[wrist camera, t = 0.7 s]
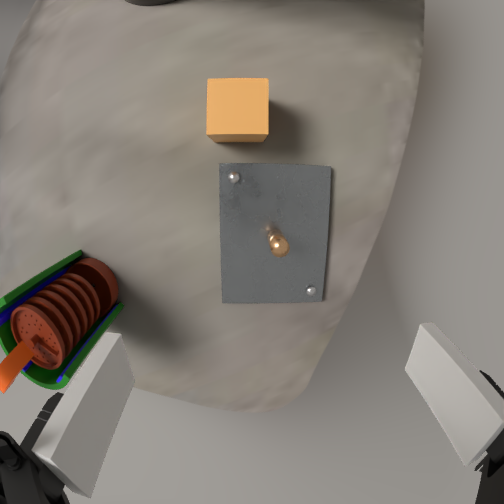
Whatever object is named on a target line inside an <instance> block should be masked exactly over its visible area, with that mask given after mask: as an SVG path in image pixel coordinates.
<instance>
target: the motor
mask: <svg viewBox="0 0 504 504" xmlns="http://www.w3.org/2000/svg"><path fill="white" fill-rule="evenodd" d="M81 255H82V252H81V250H79V251H77V252H75V253H73V254H71V255H70V256H68V257H66V258H64V259H63V260H61V261H59V262H58V263H56V264H54V265H53V266H51V267H49V268H47V269H46V270H44V271H43V272H41V273H39V274H38V275H36V276H34V277H33V278H31V279H30V280H28V281H26V282H25V283H23V284H22V285H20V286H19V287H17V288H16V289H14V290H12V291H11V292H9V293H8V294H6V295H5V296H3V297H2V298H1V299H0V344H1V346H2V348H3V350H4V352H5V353H6V355H7V357H6V358H5V359H4V360H3V361H2V363H1V364H0V390H1V391H2V393H5V391H6V390H7V389H8V388H9V387H10V385H11V384H12V383H13V382H14V379H15V378H16V376H17V375H18V374H19V373H20V372H21V373H22V374H23V375H24V376H25V377H27V378H28V379H29V380H31V381H32V382H34V383H36V384H37V385H39V386H41V387H44V388H47V389H52V390H57V389H61V388H63V387H64V386H66V385H67V383H68V382H69V380H70V379H71V378H72V376H73V375H74V373H75V372H76V370H77V369H78V367H79V366H80V365H81V363H82V362H83V361H84V359H85V358H86V356H87V355H88V354H89V352H90V351H91V349H92V348H93V347H94V345H95V344H96V343H97V341H98V340H99V339H100V337H101V336H102V335H103V333H104V332H105V331H106V329H107V328H108V327H109V325H110V324H111V323H112V322H113V320H114V319H115V318H116V316H117V315H118V314H119V313H120V311H121V310H122V309H123V307H124V305H123V304H122V303H121V302H120V303H119V304H118V305H116V306H115V307H114V308H113V309H112V310H111V312H110V313H109V314H106V313H107V312H108V311H109V310H110V309H111V308H112V306H113V305H114V304H115V302H116V301H117V298H118V284H117V281H116V278H115V276H114V274H113V273H112V271H111V270H110V268H109V267H108V266H107V265H105V264H104V263H103V262H101V261H100V260H97V259H94V258H84V259H82V260H80V261H78V262H77V263H75V264H74V265H72V266H71V264H72V262H73V261H74V259H76V258H77V257H79V256H81ZM92 284H95V287H93V286H92Z"/></svg>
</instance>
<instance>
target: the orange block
mask: <svg viewBox="0 0 504 504" xmlns="http://www.w3.org/2000/svg"><path fill="white" fill-rule="evenodd" d="M267 135H268V79H267V78H220V79H208V87H207V136H208V137H210V138H211V139H212V140H213V141H214V142H263V141H264V140H265V138H266V137H267Z"/></svg>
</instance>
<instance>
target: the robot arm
mask: <svg viewBox="0 0 504 504" xmlns="http://www.w3.org/2000/svg"><path fill="white" fill-rule="evenodd" d="M125 1H127V2H129V3H132V4H137V5H157V4H163V3H168V2H172V1H175V0H125ZM405 371H406V372H407V374H408V375H409V377H410V378H411V380H412V381H413V383H414V384H415V386H416V387H417V389H418V390H419V392H420V393H421V395H422V396H423V398H424V400H425V401H426V403H427V404H428V406H429V407H430V409H431V411H432V412H433V414H434V415H435V417H436V419H437V420H438V422H439V424H440V425H441V427H442V428H443V430H444V432H445V433H446V435H447V437H448V438H449V440H450V442H451V444H452V445H453V447H454V449H455V450H456V452H457V454H458V456H459V457H460V459H461V460H462V462H463V464H464V466H467V465H469V464H471V463H472V462H474V461H476V460H477V459H478V458H479V457H480V456H481V455H482V454H483V453H484V452H485V451H487V453H488V454H487V455H486V456H485V457H484V459H483V460H482V461H481V462H480V463H479V464H478V465H477V466H476V468H475V471H477V470H478V469H479V468H480V467H481V466H482V465H483V467H482V468H481V469H480V471H481V472H482V476H481V481H480V486H479V490H478V494H477V498H476V502H475V504H504V392H503V391H501V389H500V388H499V386H498V385H496V383H495V382H494V381H493V379H492V378H491V377H490V376H489V375H487V374H486V373H484V372H482V371H481V370H480V371H479V370H478V369H477V368H476V367H475V366H474V365H473V364H472V363H471V362H470V361H469V359H468V358H467V357H466V356H465V355H464V354H463V353H462V352H461V351H460V350H459V349H458V348H457V347H456V346H455V345H454V344H453V342H451V340H449V338H448V337H447V336H446V335H445V334H444V333H443V332H442V331H441V330H440V329H439V328H438V327H437V326H436V325H435V324H434V323H433V322H428V323H422V324H420V326H419V329H418V332H417V335H416V338H415V341H414V344H413V348H412V351H411V353H410V356H409V359H408V362H407V364H406V367H405ZM134 383H135V379H134V376H133V373H132V369H131V366H130V363H129V360H128V357H127V353H126V350H125V346H124V343H123V339H122V335H121V334H119V333H109V332H106V333H105V334H104V335H103V337H102V338H101V340H100V341H99V342H98V344H97V345H96V347H95V348H94V350H93V351H92V353H91V354H90V355H89V357H88V358H87V360H86V361H85V363H84V364H83V366H82V367H81V369H80V370H79V372H78V373H77V375H76V377H75V378H74V380H73V381H72V383H71V384H70V386H69V387H68V389H67V391H66V392H65V394H62V393H59V392H57V393H56V394H55V395H53V396H52V397H51V398H50V399H48V401H47V402H46V404H45V405H44V407H43V408H42V411H41V412H40V413H39V415H38V416H37V417H38V418H37V419H36V420H35V421H34V423H33V424H32V426H31V428H30V429H29V431H28V433H27V434H26V436H25V438H24V440H23V441H22V443H21V445H20V446H19V445H18V444H17V443H16V441H15V440H14V439H13V438H12V437H11V436H10V435H9V434H8V433H6V432H4V431H0V504H70V503H69V501H68V498H67V496H66V494H65V492H64V491H63V488H64V485H66V486H67V487H68V488H69V489H70V490H71V491H72V492H75V493H77V494H80V495H83V496H86V497H88V498H91V495H92V493H93V490H94V487H95V484H96V481H97V478H98V475H99V472H100V469H101V467H102V464H103V461H104V458H105V456H106V453H107V450H108V447H109V445H110V442H111V439H112V437H113V434H114V432H115V429H116V427H117V424H118V421H119V419H120V417H121V414H122V412H123V409H124V407H125V404H126V402H127V399H128V397H129V395H130V392H131V390H132V388H133V385H134Z"/></svg>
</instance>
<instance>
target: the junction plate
mask: <svg viewBox="0 0 504 504" xmlns="http://www.w3.org/2000/svg"><path fill="white" fill-rule="evenodd" d="M219 169H220V242H221V276H222V303H289V302H319V301H322V294H323V285H324V275H325V264H326V253H327V240H328V225H329V207H330V183H331V166H318V165H299V164H266V163H224V164H219Z"/></svg>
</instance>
